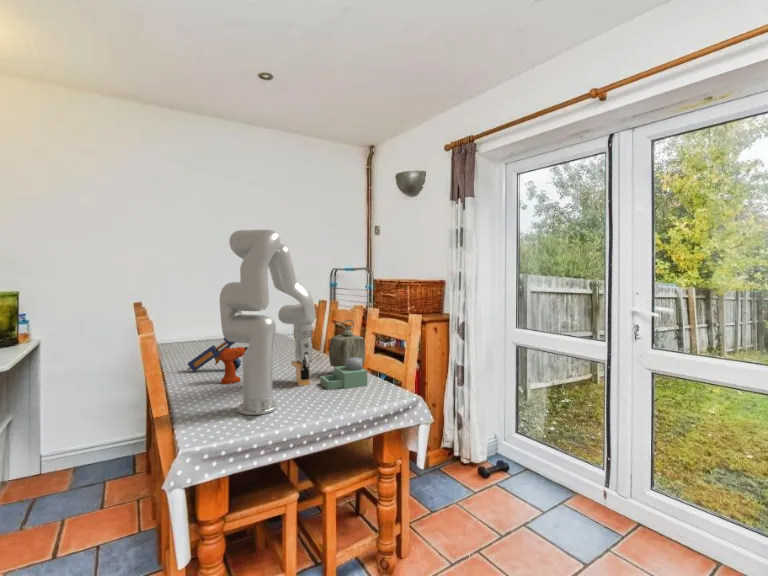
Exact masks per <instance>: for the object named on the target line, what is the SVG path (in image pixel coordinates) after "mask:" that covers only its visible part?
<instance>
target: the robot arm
mask: <svg viewBox="0 0 768 576" xmlns="http://www.w3.org/2000/svg"><path fill="white" fill-rule="evenodd" d="M228 242H229V247H230V249H231V251H232V253H234V254H235V255H236V256H237V257H239V258H241V259H242V262H241V264H240V267H239V268H240V269H239V273H240V275H239V277H240V282H239V281H232V282H228V283H227V284H225V285H224V286H223V287H222V288H221V290H220V294H219V311H220V312H219V313H220V321H221V322H220V323H221V332H222V335H223V338H224V337H225V339H227V340H228V341H231V342H235V343H241V344H243V343H244V344H248V346H247V347H248V348H247V349H246V351H245V353H244V355H243V356H242V403H239V405H238V406H237V411H238V413H239V414H241V415H245V416H246V415H247V416H259V415H265V414H269V413H272V412H274V411H275V410H277V408H278V403H277V402H276V401H273V352H274V351H273V349H274V342H275V336H276V331H277V329H276V328H277V326H276V323H275V320H274V319H273V318H271V317H270V316H268V315H264V314H251V313H250V314H247V313H246V314H245V313H244V314H243V313H242V312H261V311H264V310H266V309H267V308H268V306H269V304H270V303H269V302H270V295H269V294H270V293H269V280H268V279H269V277H268V275H269V274H268V270H269V273H270V277H271V279H272V283H273V286H274V288H275V289H276V290H277V291H280V292H282V293H284V294H286V295H288V296H290V297H293V298H294V299H295V300H297V302H298V304H286V305H283V306H282V307H280V308H279V310H278V315H277V316H278V320H279V321H280V322H281V323H282V324H285V325H293V339H295V343H294V345H295V346H294V348H295V349H294V352H295V353H294V359H295V361H299V362H300V363H301V364H302V370H301V380H307V379H309V364H311V363H312V362H313V344H312V343H313V342H312V339H313V324H314V322H315V319H316V316H317V315H316V314H317V313H316V308H315V304H314V299H313V297H312V295H311V293H310V292H309V290H307V288H306V287H305V286H304V285H302V283H300V282H299V281H298V279H297V277H296V273H295V270H294V265H293V260H292V257H291V252H290V250H289V248H288V246H287V245H285V244H282V243H281V236H280V234H279V233H278V232H277V231H275V230H272V229H239V230H236V231H234V232H233V233H232V234H231V235H230V237H229V241H228ZM303 361H305V362H303ZM303 364H304V365H303Z"/></svg>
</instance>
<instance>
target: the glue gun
mask: <svg viewBox="0 0 768 576" xmlns="http://www.w3.org/2000/svg"><path fill="white" fill-rule="evenodd" d="M223 340H224V342H223V343H221V344H219V345H218V346H217V347H216V346H215V345H212V346H210V347H208V348H207V349H206V350H204V351H203V352H201V353H200V354H199V355H197V356H196V357H194V358H193V359H191V360H190V361H189V362H188V363H187V366H188V368H186V369H185V371H184V373H186V372H188V371H190V370H192V372H197V371H198V370H199V369H201V368H202V367H203V366H204V365H206V364H208V362H210V361H212V360H213V359H214V361H215V364H214V365H215V366H216V365H218V364H219V362H220V361H221V360H220V358H219V355H220V353H221V352H222V351H223V350H224V349H225V348H231V346H233V345H234V344H236V342H231V341H228V340H227V339H225V337H224V336H223ZM234 361H236V363H237V365H239V367H238V368H237V369H236V370H238V369H239V368H240V367H241V364H242V360H241V359H240V358H238V359H236V360H234Z"/></svg>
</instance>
